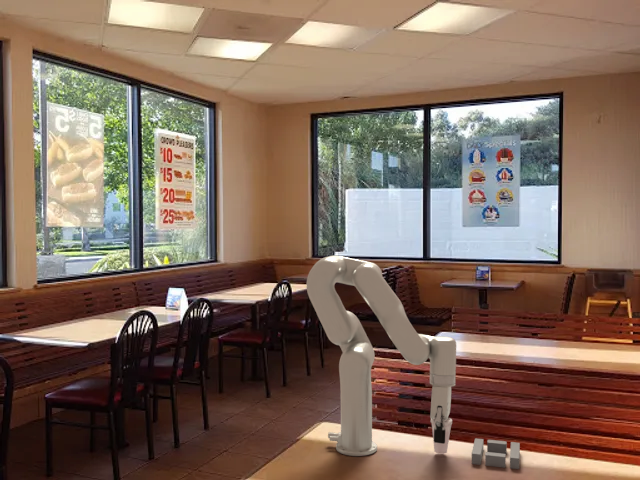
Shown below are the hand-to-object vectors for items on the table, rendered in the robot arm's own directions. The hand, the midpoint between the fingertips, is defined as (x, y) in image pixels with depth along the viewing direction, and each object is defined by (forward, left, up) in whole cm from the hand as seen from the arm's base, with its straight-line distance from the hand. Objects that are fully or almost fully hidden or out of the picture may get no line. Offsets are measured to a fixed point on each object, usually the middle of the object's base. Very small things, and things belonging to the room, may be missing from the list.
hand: (441, 438), depth 184 cm
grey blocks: (+16, +2, -5) cm, 17 cm away
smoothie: (0, 0, -4) cm, 4 cm away
